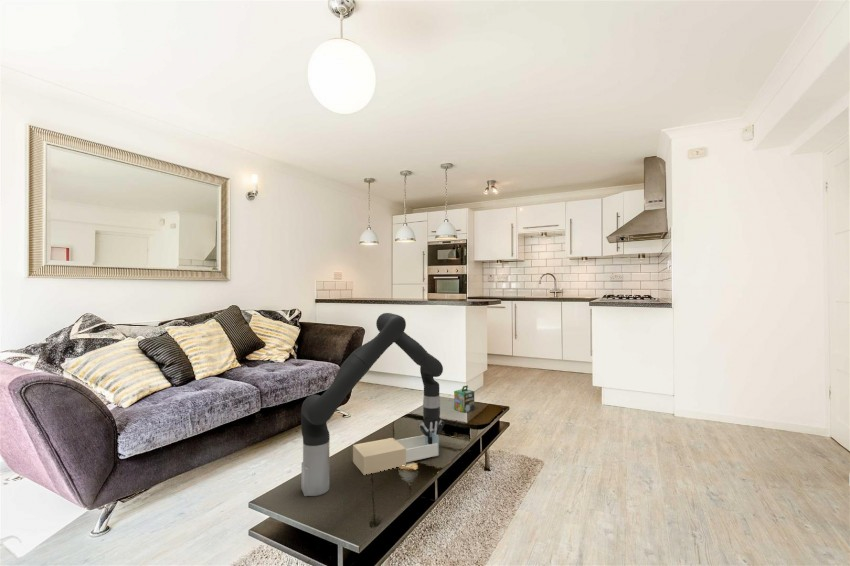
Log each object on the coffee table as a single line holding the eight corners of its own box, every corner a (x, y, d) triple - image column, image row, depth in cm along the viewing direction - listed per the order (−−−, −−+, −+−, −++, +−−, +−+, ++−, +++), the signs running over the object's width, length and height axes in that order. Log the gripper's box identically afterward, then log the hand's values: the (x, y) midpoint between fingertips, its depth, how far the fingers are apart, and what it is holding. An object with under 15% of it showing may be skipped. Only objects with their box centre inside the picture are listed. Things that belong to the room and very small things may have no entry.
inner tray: (384, 467, 158) (384, 446, 158) (374, 456, 168) (374, 437, 169) (438, 455, 170) (438, 436, 170) (425, 445, 180) (425, 427, 180)
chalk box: (464, 406, 246) (464, 383, 247) (475, 410, 239) (474, 385, 240) (453, 409, 241) (453, 385, 241) (464, 413, 234) (464, 387, 234)
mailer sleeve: (363, 475, 153) (363, 457, 153) (352, 461, 165) (353, 444, 165) (405, 465, 161) (405, 448, 161) (392, 453, 173) (392, 437, 174)
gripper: (422, 409, 169) (422, 450, 168) (448, 405, 175) (448, 444, 175) (414, 405, 176) (414, 444, 175) (440, 401, 182) (440, 439, 181)
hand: (431, 444), depth 175 cm, fingers closed
